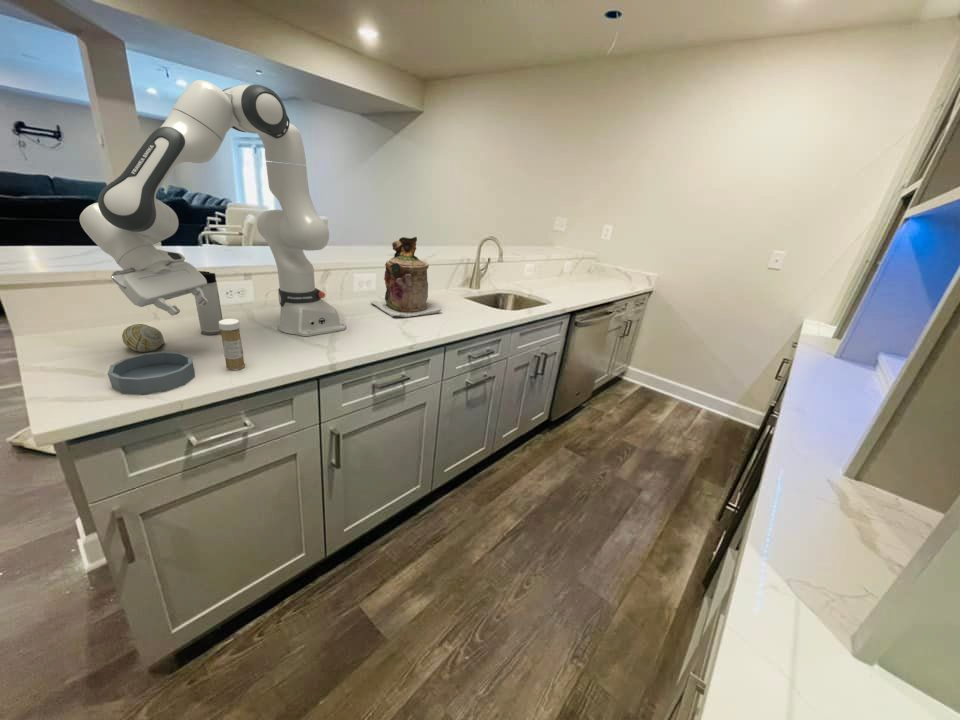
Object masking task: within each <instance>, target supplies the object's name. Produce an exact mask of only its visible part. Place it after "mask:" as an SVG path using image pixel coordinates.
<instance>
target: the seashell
mask: <svg viewBox="0 0 960 720" xmlns="http://www.w3.org/2000/svg"><path fill="white" fill-rule="evenodd" d="M121 339H122V341H123V343H124V345H125V346H126V347H128V349H131V350H133V351H134V352H139V353H141V352H142V353H151V352H153V351H155V350H157V349H159V348H160V347H161V346H162V345H163V344H165V339H164V336H163V334H162V332H161V331H160V329H158V328H155V327H153V326H150V325H147V324H144V323H136V324H132V325H129V326H127V327H125V329H124V330H123V331H122V335H121Z"/></svg>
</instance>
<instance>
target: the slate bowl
mask: <svg viewBox="0 0 960 720" xmlns="http://www.w3.org/2000/svg"><path fill="white" fill-rule="evenodd" d="M195 375H196V373H195V366H194V361H193V356H190V355H188V354H185V353H183V352H177V351H155V352H144V353H142V354H136V355H133V356H130V357H125V358H123V359H120V360H119V361H117V362H114V363H113V364H111V365H109V369H108V371H107V376H108V380H109V381H110V385H111V388H112V390H114V391H116V392H118V393H120V394H121V395H135V396H136V395H138V396H145V395H151V394H157V393H158V394H159V393H166V392H169V391H172V390H174V389H178V388H180V387H183V386H186V385H187V384H188V383H189V382H191V381H192V380H193V379H195V378H196V376H195Z"/></svg>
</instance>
